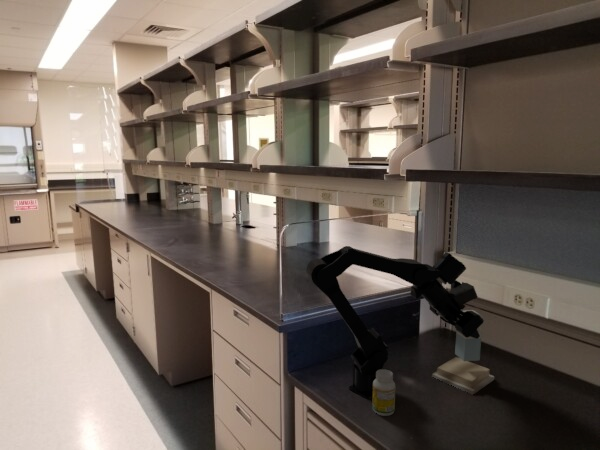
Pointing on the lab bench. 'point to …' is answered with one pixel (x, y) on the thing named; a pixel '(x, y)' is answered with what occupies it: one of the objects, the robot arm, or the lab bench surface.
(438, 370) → the tower base
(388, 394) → the supplement bottle
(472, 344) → the white and blue box
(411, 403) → the lab bench surface
